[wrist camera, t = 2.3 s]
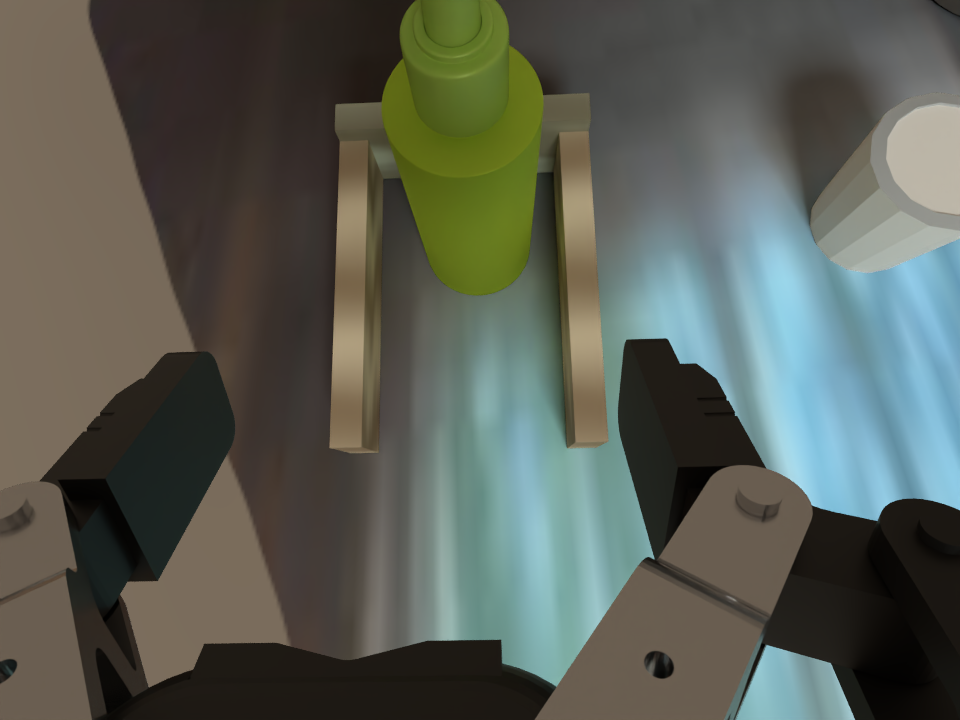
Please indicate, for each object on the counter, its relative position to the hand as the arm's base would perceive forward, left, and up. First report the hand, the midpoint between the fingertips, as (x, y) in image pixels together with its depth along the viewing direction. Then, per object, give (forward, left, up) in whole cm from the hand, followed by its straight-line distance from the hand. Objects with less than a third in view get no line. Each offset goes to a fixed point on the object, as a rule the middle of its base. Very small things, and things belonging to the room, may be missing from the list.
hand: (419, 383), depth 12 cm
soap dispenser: (-12, 0, -21) cm, 24 cm away
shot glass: (-12, +22, -21) cm, 33 cm away
